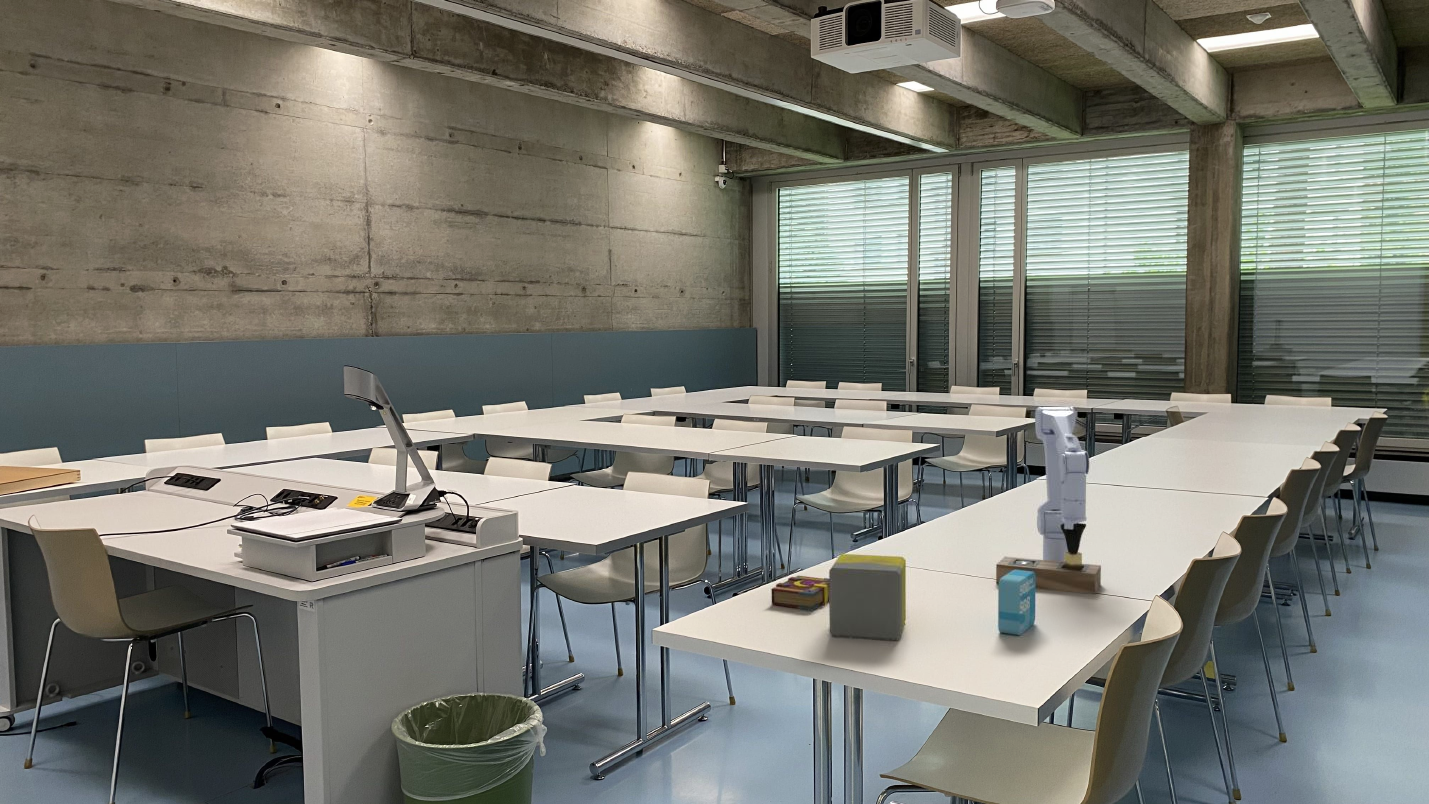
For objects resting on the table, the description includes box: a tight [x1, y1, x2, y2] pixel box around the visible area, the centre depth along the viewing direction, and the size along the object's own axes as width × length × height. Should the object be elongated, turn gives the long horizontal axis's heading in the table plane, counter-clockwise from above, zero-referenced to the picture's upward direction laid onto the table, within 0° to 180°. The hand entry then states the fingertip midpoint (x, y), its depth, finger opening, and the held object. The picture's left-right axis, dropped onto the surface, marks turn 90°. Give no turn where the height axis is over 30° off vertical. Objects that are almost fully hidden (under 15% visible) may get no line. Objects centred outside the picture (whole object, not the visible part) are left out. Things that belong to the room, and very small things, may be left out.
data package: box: [997, 570, 1037, 636], centre depth 220 cm, size 12×4×12 cm, turn 146°
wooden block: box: [995, 556, 1102, 595], centre depth 258 cm, size 10×24×5 cm, turn 61°
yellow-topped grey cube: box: [828, 553, 907, 642], centre depth 226 cm, size 15×24×15 cm, turn 164°
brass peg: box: [1064, 551, 1083, 570], centre depth 255 cm, size 4×4×4 cm
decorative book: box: [770, 575, 829, 612], centre depth 246 cm, size 11×16×5 cm
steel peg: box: [1016, 561, 1033, 565], centre depth 261 cm, size 4×4×4 cm
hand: (1073, 552), depth 255 cm, fingers closed
